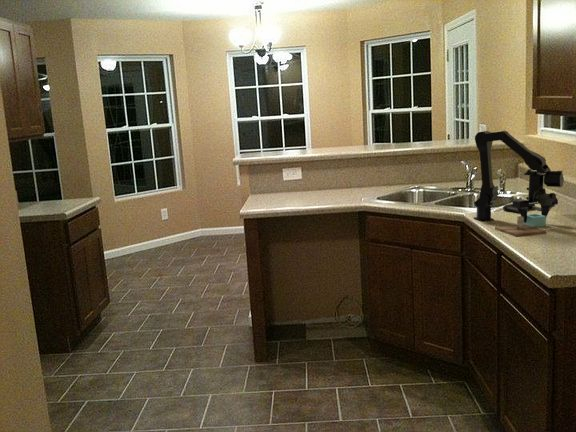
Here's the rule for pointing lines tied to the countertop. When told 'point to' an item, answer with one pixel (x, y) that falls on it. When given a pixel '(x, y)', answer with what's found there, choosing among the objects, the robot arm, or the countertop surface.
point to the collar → (535, 220)
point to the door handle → (515, 210)
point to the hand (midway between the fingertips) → (534, 221)
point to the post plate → (520, 229)
